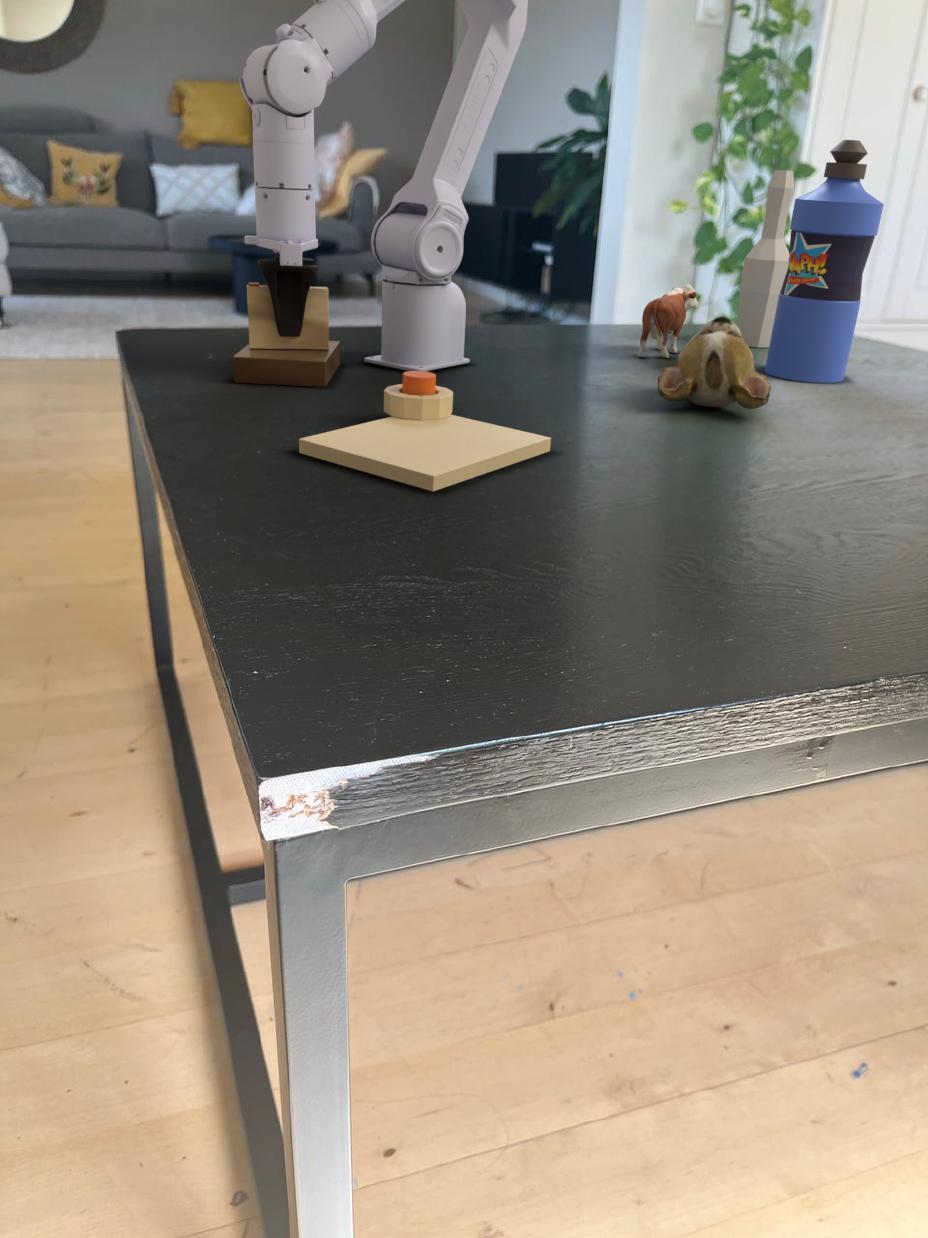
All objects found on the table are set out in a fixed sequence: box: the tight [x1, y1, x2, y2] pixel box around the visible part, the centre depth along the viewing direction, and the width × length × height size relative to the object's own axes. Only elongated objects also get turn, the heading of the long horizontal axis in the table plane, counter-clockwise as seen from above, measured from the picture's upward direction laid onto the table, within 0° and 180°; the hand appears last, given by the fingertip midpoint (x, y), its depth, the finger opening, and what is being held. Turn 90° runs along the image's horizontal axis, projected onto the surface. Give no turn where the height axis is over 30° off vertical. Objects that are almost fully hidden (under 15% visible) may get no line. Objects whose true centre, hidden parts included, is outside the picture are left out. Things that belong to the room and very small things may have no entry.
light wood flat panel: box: [246, 281, 330, 350], centre depth 97 cm, size 8×1×6 cm, turn 102°
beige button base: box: [298, 383, 552, 492], centre depth 75 cm, size 16×15×3 cm
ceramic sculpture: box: [657, 316, 772, 410], centre depth 94 cm, size 11×9×15 cm
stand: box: [232, 340, 341, 388], centre depth 98 cm, size 12×9×2 cm
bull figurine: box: [637, 283, 700, 359], centre depth 120 cm, size 4×13×8 cm, turn 148°
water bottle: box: [764, 139, 885, 384], centre depth 108 cm, size 9×9×25 cm
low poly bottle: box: [737, 169, 795, 348], centre depth 128 cm, size 6×6×22 cm
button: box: [401, 371, 437, 396], centre depth 80 cm, size 3×3×2 cm
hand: (288, 334), depth 97 cm, fingers closed on light wood flat panel
